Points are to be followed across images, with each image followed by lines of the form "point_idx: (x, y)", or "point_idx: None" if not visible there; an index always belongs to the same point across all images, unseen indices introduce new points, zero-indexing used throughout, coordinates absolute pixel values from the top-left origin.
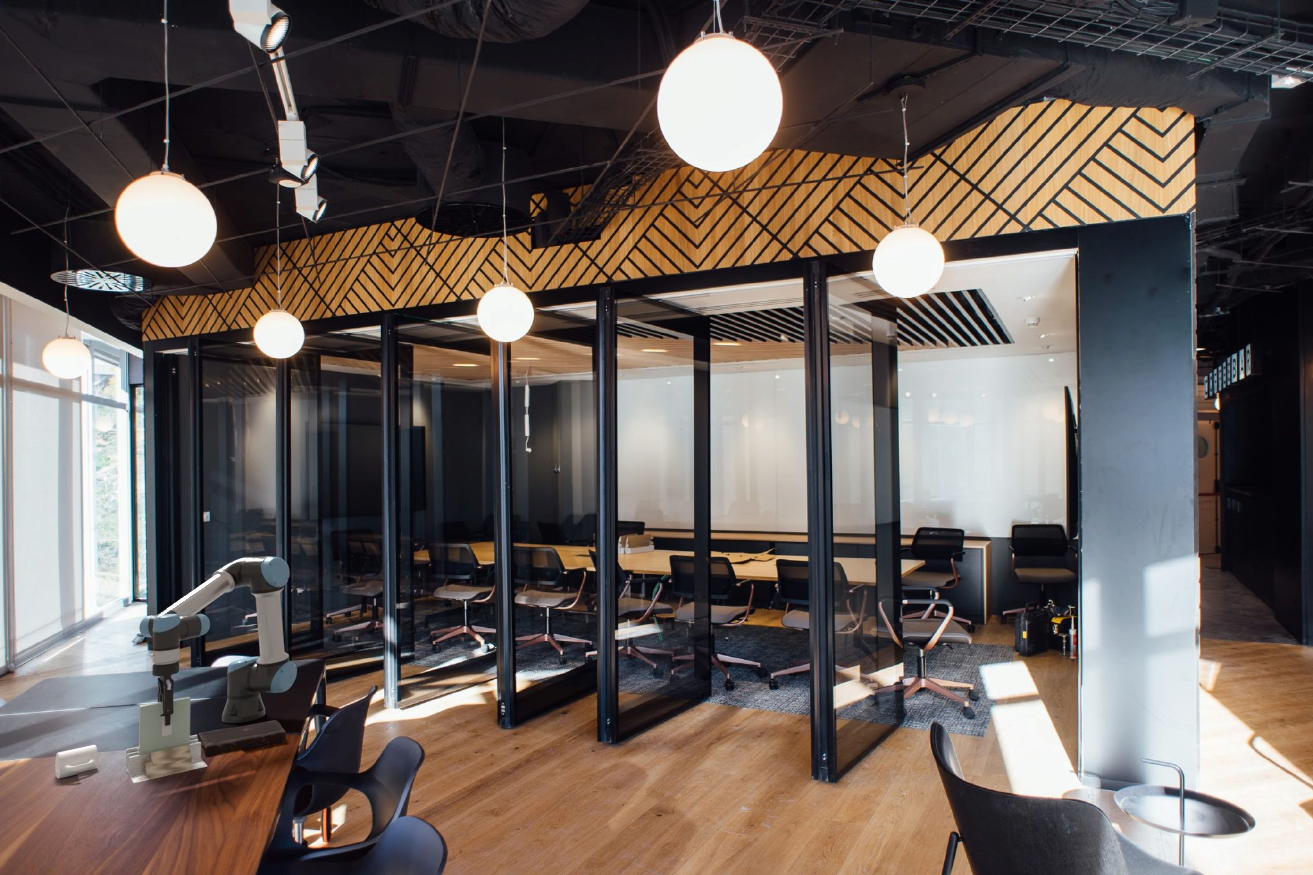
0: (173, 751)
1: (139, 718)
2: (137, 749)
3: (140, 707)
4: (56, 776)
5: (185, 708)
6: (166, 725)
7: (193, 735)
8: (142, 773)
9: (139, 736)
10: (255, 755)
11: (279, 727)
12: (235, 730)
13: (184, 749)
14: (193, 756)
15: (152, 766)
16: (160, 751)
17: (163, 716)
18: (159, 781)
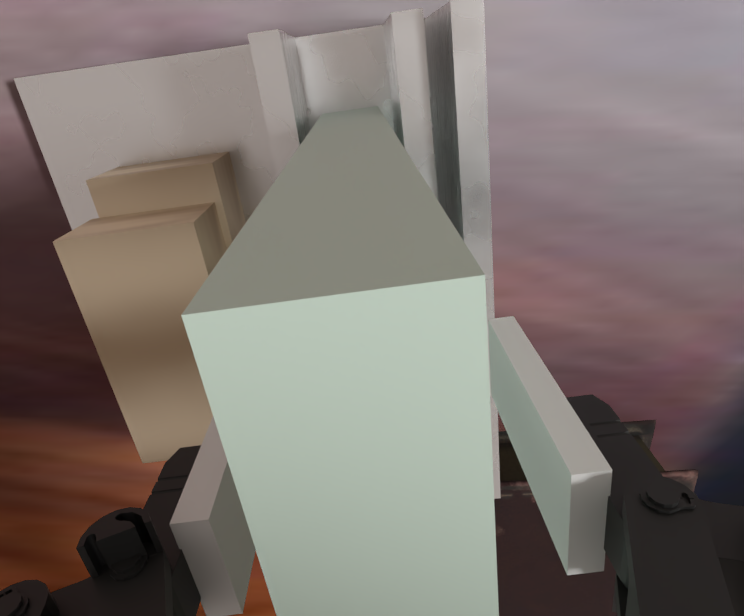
0: (129, 370)
1: (388, 180)
2: (452, 105)
3: (215, 299)
4: None
5: None
6: (182, 460)
7: (494, 481)
8: (221, 134)
9: (345, 140)
10: (267, 605)
11: None
12: (587, 611)
13: (144, 432)
14: None
15: (99, 211)
16: (185, 288)
17: (175, 525)
18: (64, 229)
